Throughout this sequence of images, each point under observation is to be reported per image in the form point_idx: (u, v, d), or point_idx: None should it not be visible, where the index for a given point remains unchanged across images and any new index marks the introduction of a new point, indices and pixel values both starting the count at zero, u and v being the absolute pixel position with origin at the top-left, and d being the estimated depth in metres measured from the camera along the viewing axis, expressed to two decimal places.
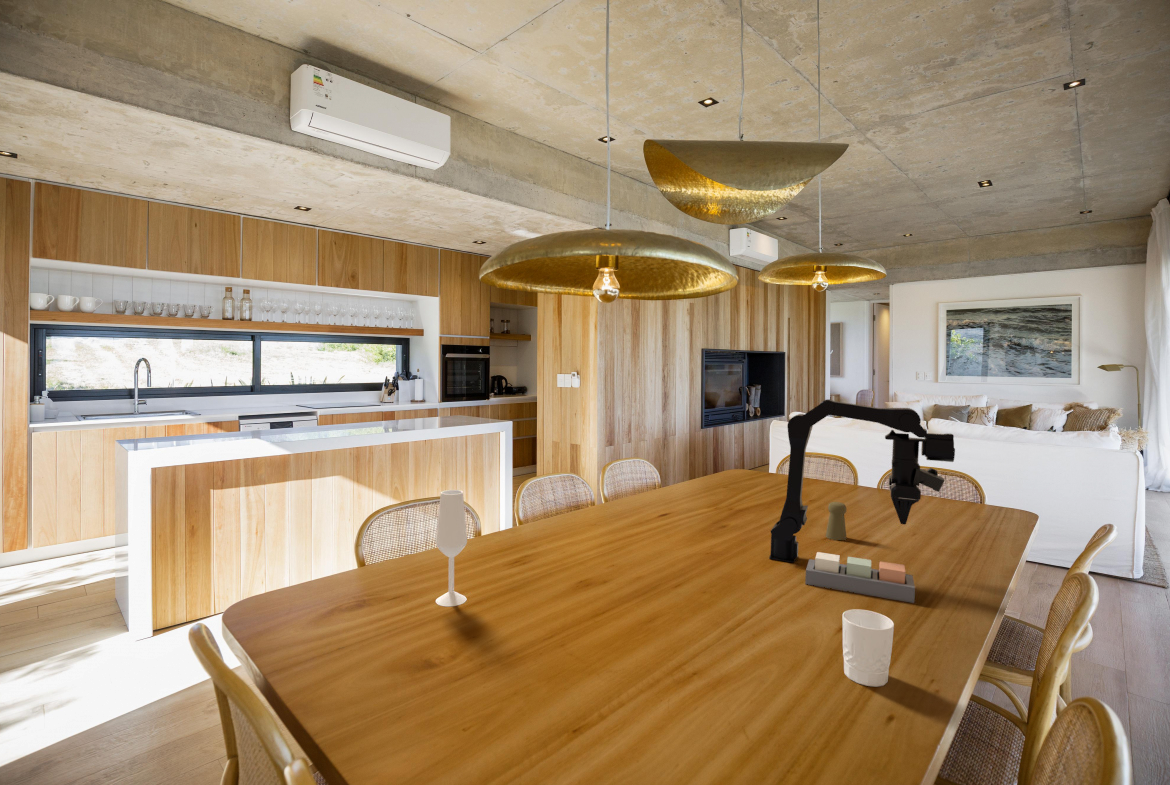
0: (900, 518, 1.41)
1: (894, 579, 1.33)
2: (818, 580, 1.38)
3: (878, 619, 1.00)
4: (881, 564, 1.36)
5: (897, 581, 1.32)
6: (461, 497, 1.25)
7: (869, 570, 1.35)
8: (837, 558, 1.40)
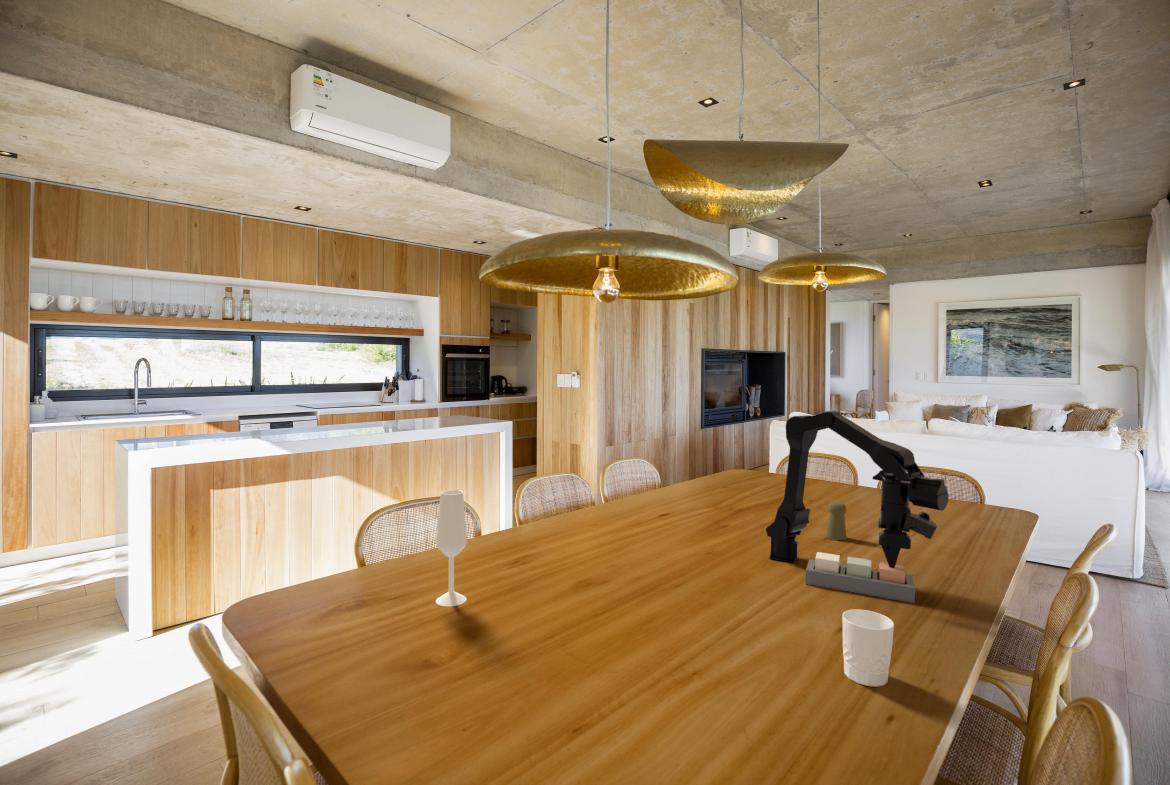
0: (889, 561, 1.35)
1: (894, 580, 1.33)
2: (818, 580, 1.38)
3: (878, 619, 1.00)
4: (881, 565, 1.36)
5: (897, 582, 1.32)
6: (461, 497, 1.25)
7: (869, 570, 1.35)
8: (837, 558, 1.40)
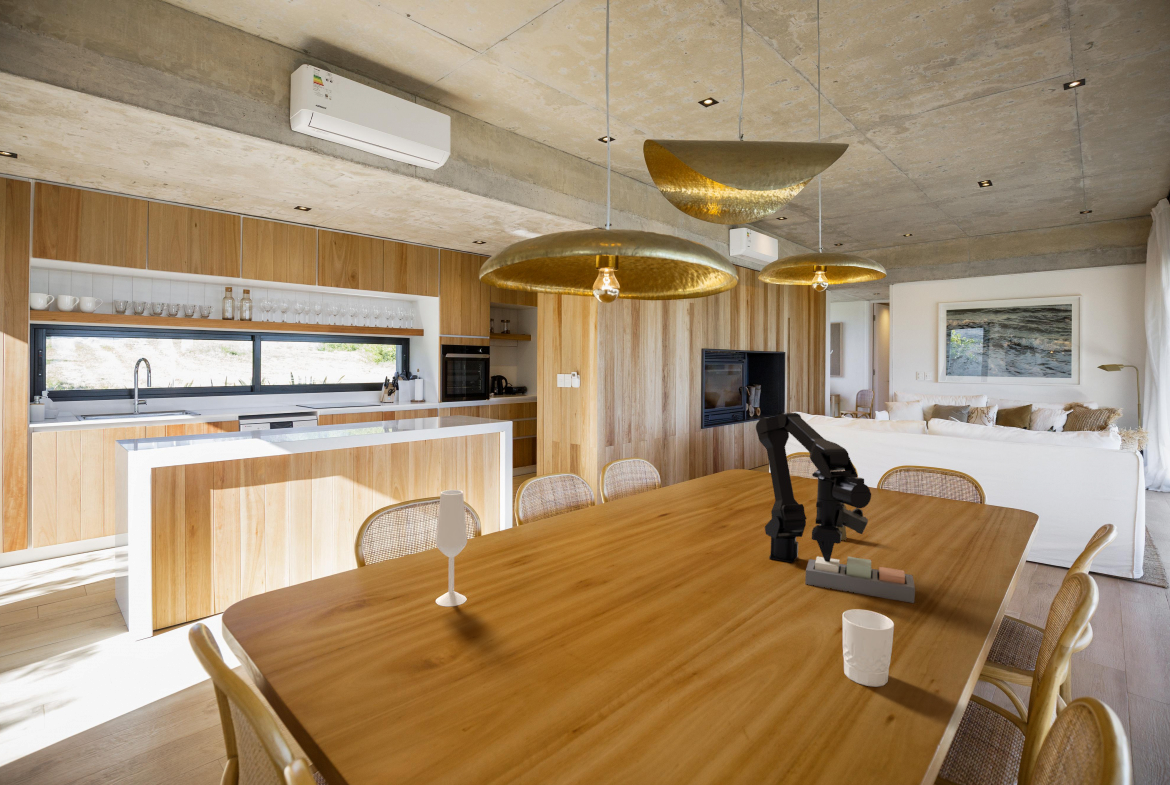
0: (824, 555, 1.41)
1: None
2: (818, 580, 1.38)
3: (878, 619, 1.00)
4: (881, 570, 1.36)
5: None
6: (461, 497, 1.25)
7: (869, 570, 1.35)
8: (837, 563, 1.40)
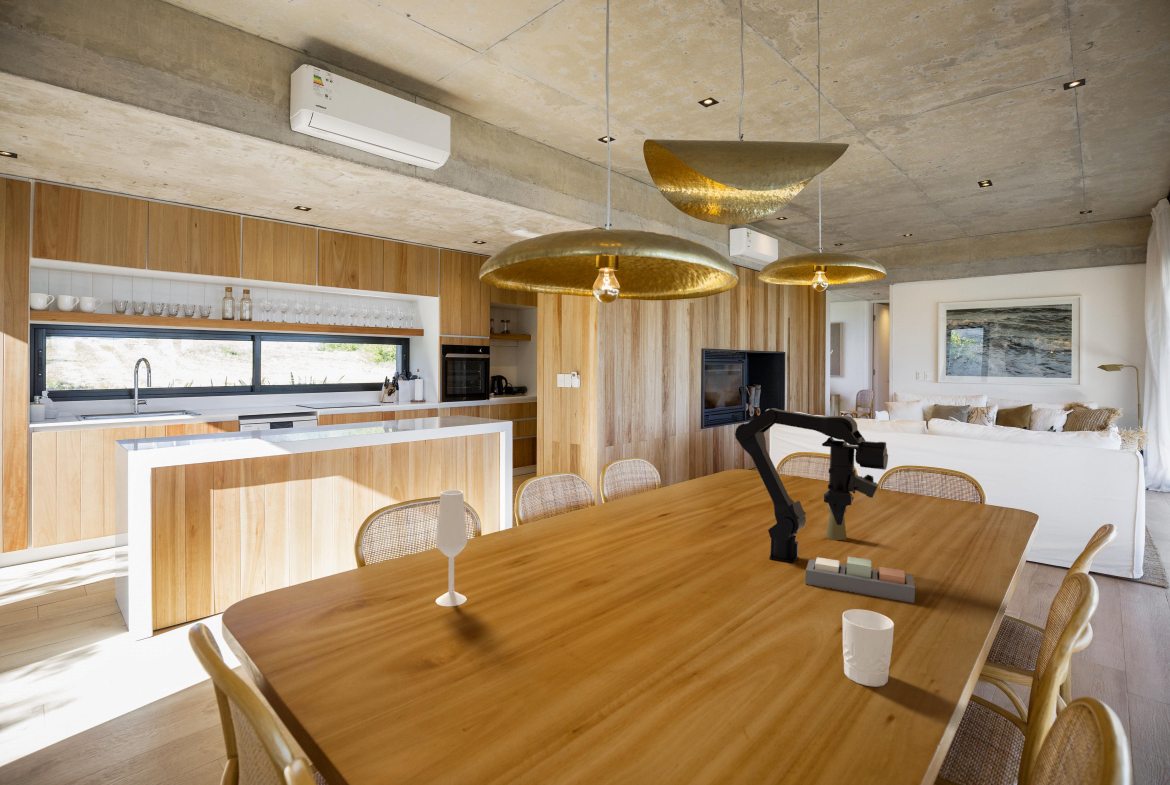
0: (836, 519, 1.49)
1: None
2: (818, 580, 1.38)
3: (878, 619, 1.00)
4: (881, 570, 1.36)
5: None
6: (461, 497, 1.25)
7: (869, 570, 1.35)
8: (837, 563, 1.40)
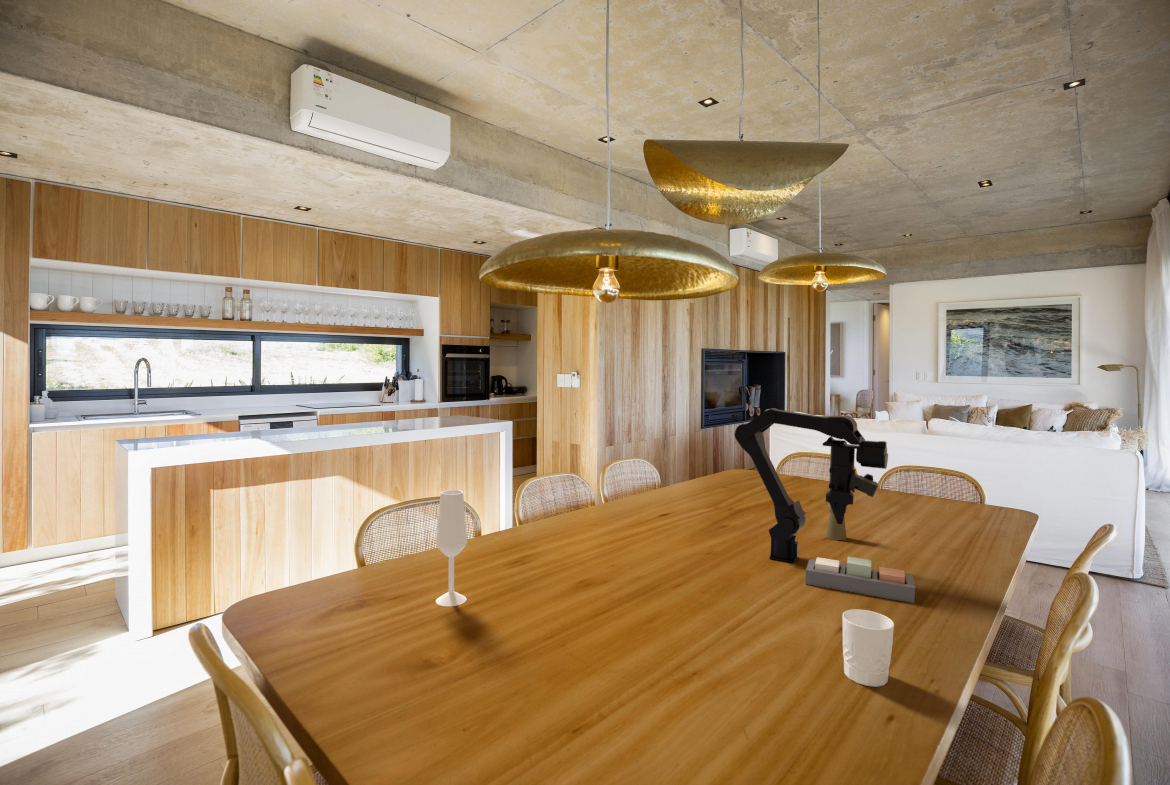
0: (837, 518, 1.50)
1: None
2: (818, 580, 1.38)
3: (878, 619, 1.00)
4: (881, 570, 1.36)
5: None
6: (461, 497, 1.25)
7: (869, 570, 1.35)
8: (837, 563, 1.40)
